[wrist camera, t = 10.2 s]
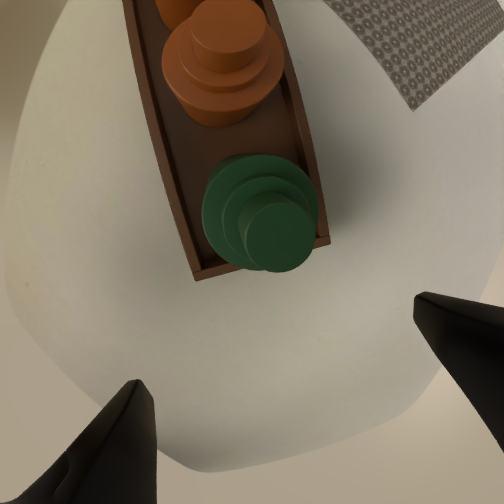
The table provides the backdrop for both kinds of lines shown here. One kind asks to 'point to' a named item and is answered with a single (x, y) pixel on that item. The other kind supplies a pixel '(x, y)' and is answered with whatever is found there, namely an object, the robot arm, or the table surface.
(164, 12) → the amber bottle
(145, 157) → the table surface
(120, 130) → the table surface
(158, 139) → the tray
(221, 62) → the amber bottle middle
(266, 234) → the green bottle
